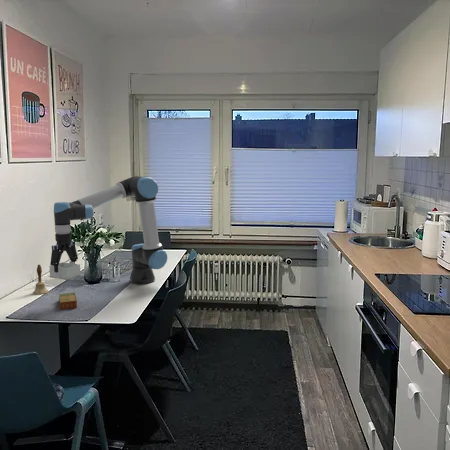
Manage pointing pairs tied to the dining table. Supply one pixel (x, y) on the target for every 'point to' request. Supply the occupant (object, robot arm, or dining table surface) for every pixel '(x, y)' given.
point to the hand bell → (40, 283)
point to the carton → (67, 301)
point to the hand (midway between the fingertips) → (65, 276)
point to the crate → (66, 270)
